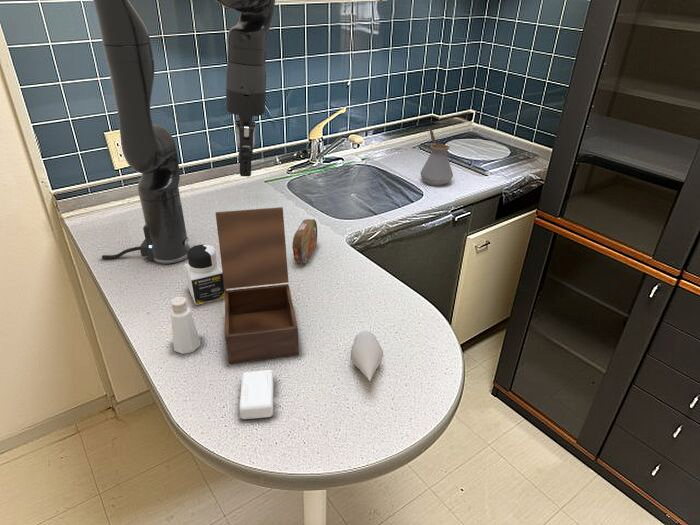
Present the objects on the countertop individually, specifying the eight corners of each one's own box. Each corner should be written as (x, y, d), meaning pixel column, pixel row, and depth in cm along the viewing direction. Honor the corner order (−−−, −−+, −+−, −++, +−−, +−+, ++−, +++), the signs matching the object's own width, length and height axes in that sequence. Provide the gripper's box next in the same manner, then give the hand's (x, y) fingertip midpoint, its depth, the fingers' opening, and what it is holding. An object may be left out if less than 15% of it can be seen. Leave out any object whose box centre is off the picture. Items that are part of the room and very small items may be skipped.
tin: (303, 269, 124) (302, 240, 119) (291, 268, 124) (289, 238, 120) (318, 241, 136) (318, 214, 132) (307, 240, 137) (306, 213, 133)
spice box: (299, 354, 97) (297, 327, 93) (229, 364, 94) (225, 336, 90) (289, 309, 109) (288, 283, 106) (228, 316, 107) (224, 290, 103)
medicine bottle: (195, 306, 110) (187, 259, 104) (188, 289, 115) (180, 244, 109) (227, 298, 113) (221, 252, 106) (219, 282, 118) (212, 238, 112)
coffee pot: (455, 187, 172) (461, 145, 164) (423, 188, 171) (427, 145, 164) (441, 166, 190) (445, 127, 183) (411, 166, 190) (415, 127, 182)
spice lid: (282, 207, 101) (282, 207, 102) (215, 212, 98) (215, 212, 99) (288, 282, 105) (288, 281, 106) (224, 289, 103) (224, 288, 103)
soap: (273, 418, 83) (272, 405, 81) (240, 421, 82) (238, 408, 81) (273, 380, 90) (272, 368, 89) (243, 382, 90) (242, 370, 88)
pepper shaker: (196, 354, 96) (188, 309, 90) (169, 354, 96) (158, 308, 90) (204, 337, 101) (196, 292, 95) (177, 336, 101) (168, 291, 95)
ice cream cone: (366, 401, 86) (362, 355, 100) (394, 383, 85) (386, 338, 99) (344, 379, 84) (343, 335, 98) (372, 359, 83) (367, 317, 97)
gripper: (225, 78, 99) (226, 157, 107) (225, 93, 87) (225, 180, 95) (263, 82, 101) (261, 158, 109) (268, 96, 89) (265, 181, 97)
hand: (244, 168), depth 102 cm, fingers open, 8 cm apart
